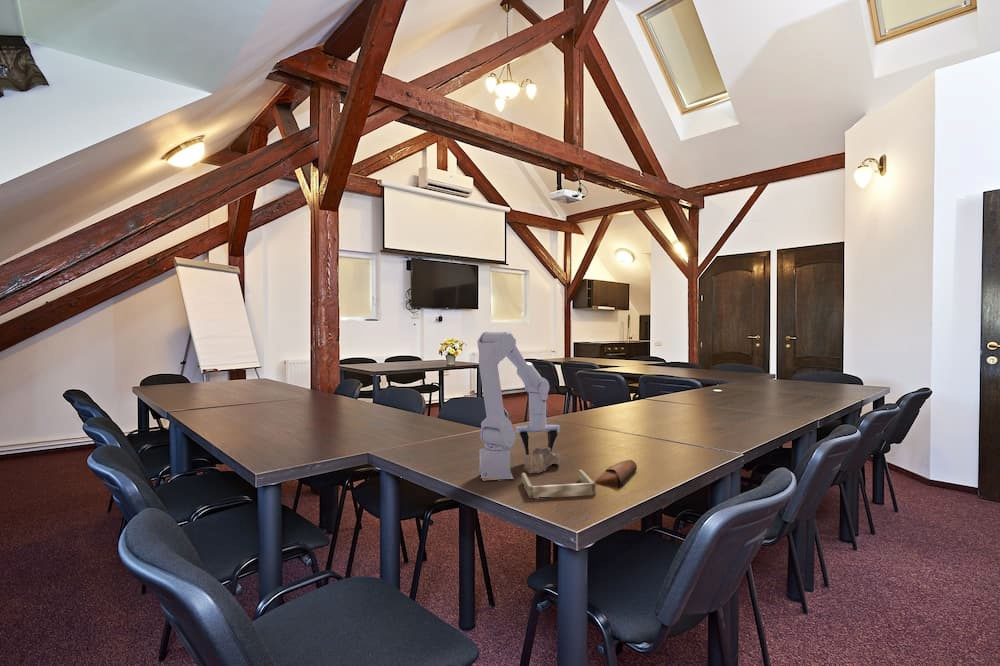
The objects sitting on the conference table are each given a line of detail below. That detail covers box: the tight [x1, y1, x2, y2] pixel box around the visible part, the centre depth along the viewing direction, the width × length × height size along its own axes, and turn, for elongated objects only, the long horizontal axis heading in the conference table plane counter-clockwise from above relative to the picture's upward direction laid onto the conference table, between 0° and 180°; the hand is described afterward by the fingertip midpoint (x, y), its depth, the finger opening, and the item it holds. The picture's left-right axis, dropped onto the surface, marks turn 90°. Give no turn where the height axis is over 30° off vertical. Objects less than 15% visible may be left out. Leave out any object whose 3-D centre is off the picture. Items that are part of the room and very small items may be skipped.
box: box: [521, 469, 597, 499], centre depth 136 cm, size 18×13×3 cm
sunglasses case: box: [593, 459, 638, 489], centre depth 145 cm, size 18×7×7 cm, turn 151°
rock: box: [524, 446, 562, 474], centre depth 154 cm, size 6×14×7 cm, turn 126°
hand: (538, 453), depth 163 cm, fingers open, 7 cm apart
